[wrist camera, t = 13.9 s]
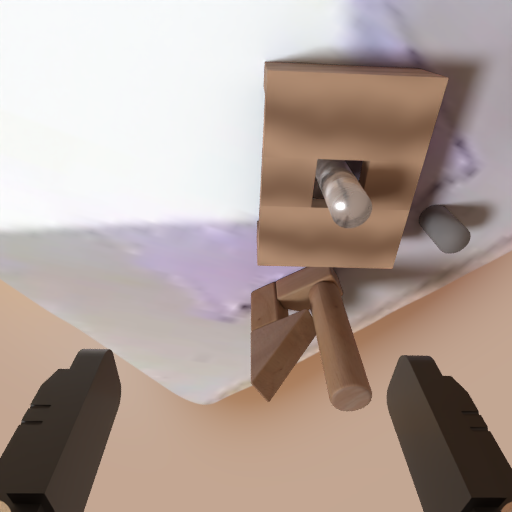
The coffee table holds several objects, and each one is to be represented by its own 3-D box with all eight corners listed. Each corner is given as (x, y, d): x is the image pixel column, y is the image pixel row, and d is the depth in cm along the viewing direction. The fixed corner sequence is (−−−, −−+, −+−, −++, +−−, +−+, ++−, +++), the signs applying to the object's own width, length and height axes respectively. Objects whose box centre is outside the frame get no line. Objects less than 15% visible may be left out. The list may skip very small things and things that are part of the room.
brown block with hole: (264, 61, 33) (267, 70, 28) (418, 68, 33) (448, 77, 28) (256, 236, 43) (257, 265, 38) (375, 239, 43) (392, 268, 38)
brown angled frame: (249, 291, 47) (249, 420, 32) (326, 256, 45) (366, 379, 29) (263, 310, 49) (269, 440, 34) (338, 277, 46) (381, 404, 31)
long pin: (313, 147, 37) (334, 190, 28) (344, 148, 37) (376, 192, 28) (309, 177, 39) (328, 227, 30) (339, 178, 39) (367, 228, 30)
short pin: (423, 204, 41) (443, 226, 37) (452, 205, 41) (475, 226, 37) (415, 229, 43) (434, 253, 38) (443, 230, 43) (464, 253, 39)
